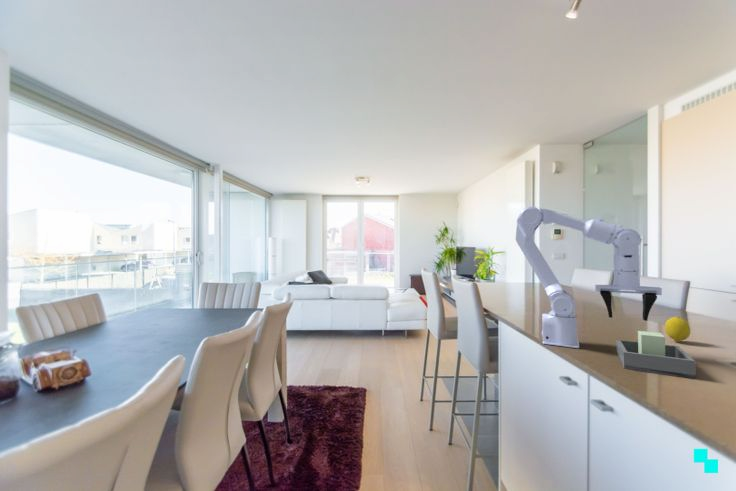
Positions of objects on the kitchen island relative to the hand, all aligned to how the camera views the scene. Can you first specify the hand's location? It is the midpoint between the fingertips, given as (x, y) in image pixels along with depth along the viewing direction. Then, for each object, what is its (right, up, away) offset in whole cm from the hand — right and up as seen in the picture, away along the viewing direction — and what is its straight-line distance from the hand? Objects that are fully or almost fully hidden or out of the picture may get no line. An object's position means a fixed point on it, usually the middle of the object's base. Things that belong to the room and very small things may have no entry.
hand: (627, 318), depth 90 cm
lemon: (+22, -9, +7) cm, 25 cm away
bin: (-2, -9, -10) cm, 14 cm away
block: (-2, -9, -10) cm, 14 cm away
